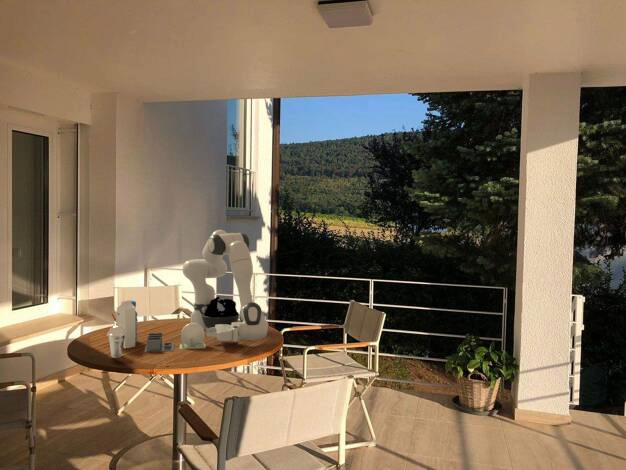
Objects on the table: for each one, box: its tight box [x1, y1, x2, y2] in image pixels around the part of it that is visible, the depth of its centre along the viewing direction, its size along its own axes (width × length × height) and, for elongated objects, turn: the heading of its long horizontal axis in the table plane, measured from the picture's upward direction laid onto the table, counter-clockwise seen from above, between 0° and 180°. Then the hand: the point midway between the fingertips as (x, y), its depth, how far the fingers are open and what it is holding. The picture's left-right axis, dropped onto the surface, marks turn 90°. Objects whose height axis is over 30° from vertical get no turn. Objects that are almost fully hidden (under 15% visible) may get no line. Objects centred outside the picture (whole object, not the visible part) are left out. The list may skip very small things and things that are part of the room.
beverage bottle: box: [131, 300, 139, 343], centre depth 262 cm, size 8×8×20 cm
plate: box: [180, 322, 206, 347], centre depth 250 cm, size 2×11×11 cm, turn 103°
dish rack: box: [143, 332, 176, 353], centre depth 247 cm, size 16×13×6 cm
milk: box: [116, 299, 136, 350], centre depth 251 cm, size 6×6×22 cm
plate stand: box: [179, 339, 207, 350], centre depth 250 cm, size 9×12×5 cm
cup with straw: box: [106, 312, 127, 359], centre depth 233 cm, size 8×9×20 cm
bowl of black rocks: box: [202, 296, 240, 328], centre depth 286 cm, size 20×20×19 cm
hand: (206, 332), depth 252 cm, fingers open, 8 cm apart
